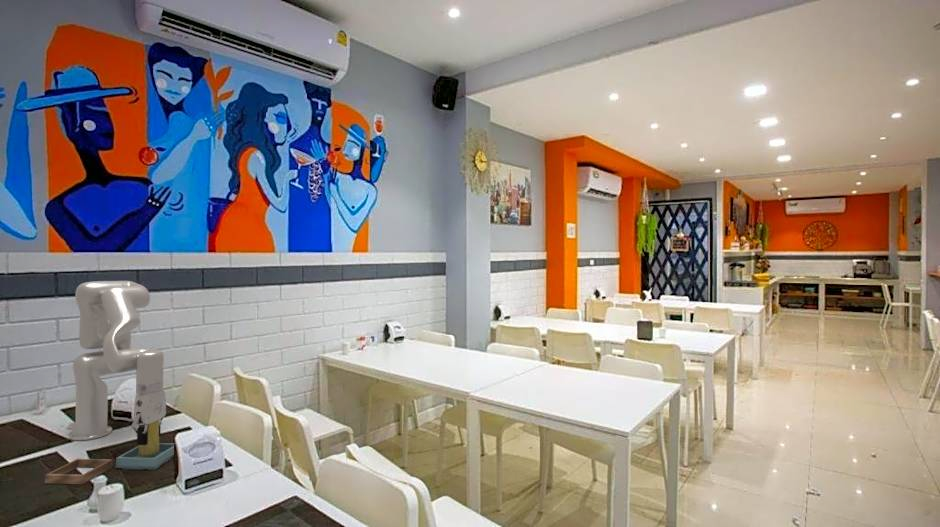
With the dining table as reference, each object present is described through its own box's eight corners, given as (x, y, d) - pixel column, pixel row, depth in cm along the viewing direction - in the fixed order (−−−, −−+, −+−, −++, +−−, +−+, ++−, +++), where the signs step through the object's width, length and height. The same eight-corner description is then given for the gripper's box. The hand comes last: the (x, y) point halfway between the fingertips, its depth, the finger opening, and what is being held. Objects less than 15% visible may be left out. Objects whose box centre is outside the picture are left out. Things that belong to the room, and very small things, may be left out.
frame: (44, 483, 141) (44, 475, 141) (77, 466, 152) (77, 458, 152) (82, 484, 140) (82, 476, 140) (112, 467, 152) (112, 459, 152)
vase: (148, 457, 154) (149, 414, 153) (133, 454, 155) (133, 412, 155) (164, 449, 160) (164, 408, 159) (149, 447, 161) (149, 406, 161)
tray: (115, 468, 151) (116, 458, 151) (143, 452, 164) (143, 442, 163) (154, 469, 151) (154, 459, 151) (179, 453, 163) (179, 443, 163)
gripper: (142, 395, 148) (141, 451, 149) (177, 381, 166) (176, 431, 166) (119, 394, 148) (118, 451, 149) (156, 380, 166) (155, 431, 166)
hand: (148, 440), depth 157 cm, fingers closed on vase, 5 cm apart
